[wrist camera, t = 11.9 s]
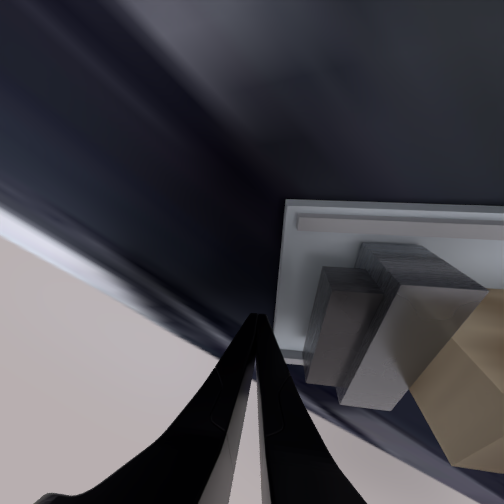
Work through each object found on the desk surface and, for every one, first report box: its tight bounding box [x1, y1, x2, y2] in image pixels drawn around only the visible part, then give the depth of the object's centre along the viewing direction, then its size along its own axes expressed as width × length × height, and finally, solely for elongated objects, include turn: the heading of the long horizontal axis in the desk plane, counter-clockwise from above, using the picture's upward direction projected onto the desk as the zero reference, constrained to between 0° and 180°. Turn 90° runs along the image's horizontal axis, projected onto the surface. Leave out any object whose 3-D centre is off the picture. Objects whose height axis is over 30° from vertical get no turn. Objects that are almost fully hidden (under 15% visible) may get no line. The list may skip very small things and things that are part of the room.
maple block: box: [409, 288, 504, 474], centre depth 8 cm, size 5×4×6 cm
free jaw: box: [302, 242, 489, 411], centre depth 9 cm, size 4×8×3 cm, turn 0°
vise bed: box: [273, 199, 504, 365], centre depth 9 cm, size 14×11×4 cm
